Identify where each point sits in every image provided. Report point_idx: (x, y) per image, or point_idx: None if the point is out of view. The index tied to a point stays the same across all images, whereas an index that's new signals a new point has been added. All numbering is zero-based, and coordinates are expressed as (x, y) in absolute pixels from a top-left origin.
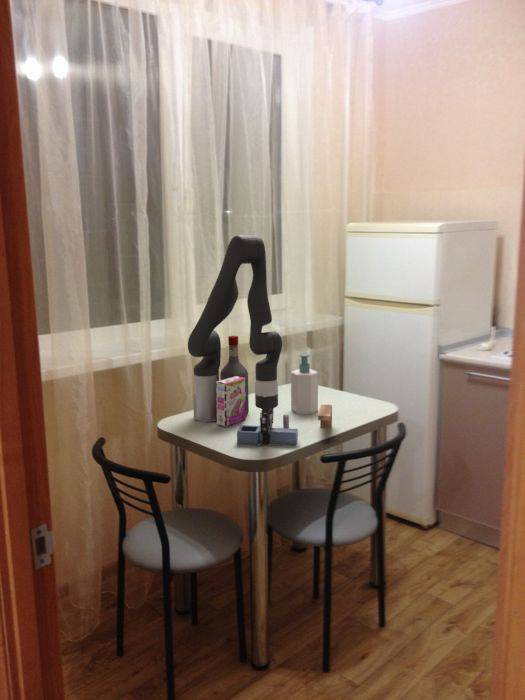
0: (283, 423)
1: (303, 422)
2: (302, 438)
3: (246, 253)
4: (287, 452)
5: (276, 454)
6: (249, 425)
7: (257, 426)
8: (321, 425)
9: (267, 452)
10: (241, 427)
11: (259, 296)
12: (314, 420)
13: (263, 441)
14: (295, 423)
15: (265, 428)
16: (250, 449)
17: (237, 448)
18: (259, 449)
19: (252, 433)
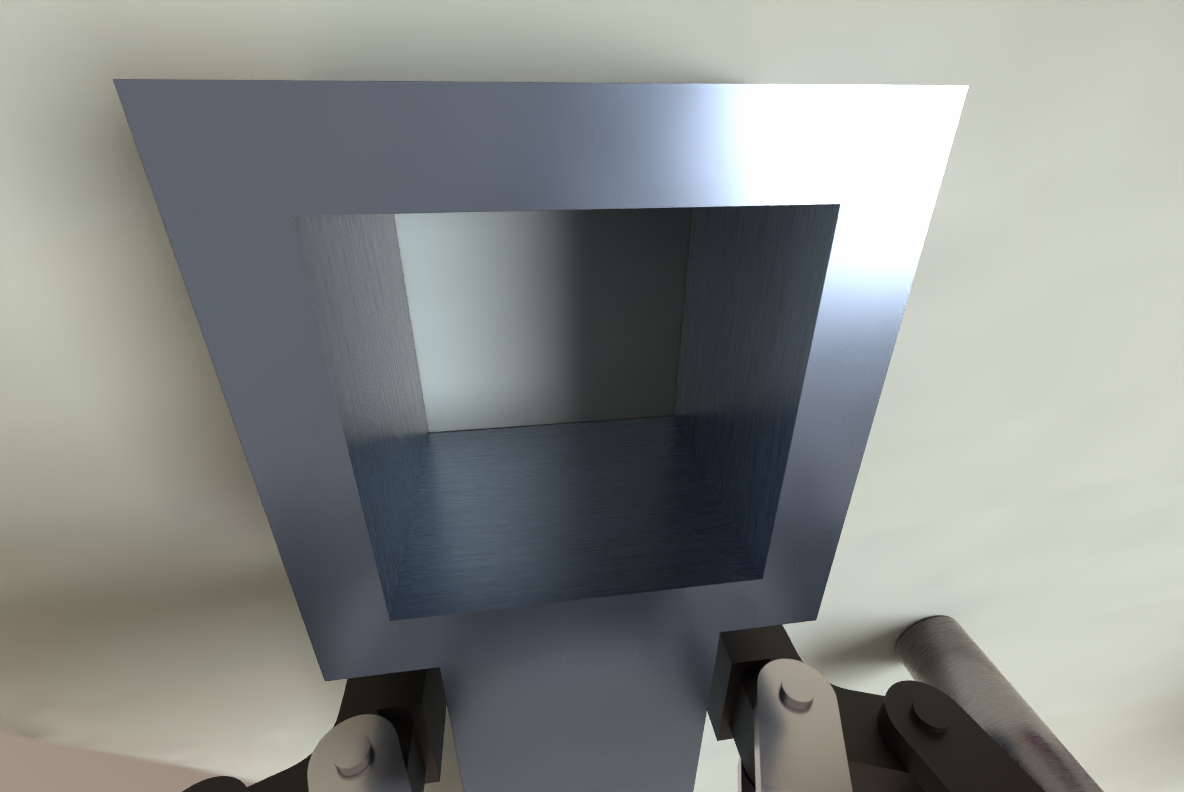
0: (1006, 737)
1: (1167, 691)
2: (722, 781)
3: None
4: None
5: (145, 730)
6: (879, 380)
7: (781, 567)
8: None
9: (161, 640)
10: (702, 167)
11: None
12: (1179, 740)
13: None
14: (1170, 646)
15: (650, 715)
16: (162, 408)
17: (81, 141)
18: (232, 529)
19: (297, 565)
